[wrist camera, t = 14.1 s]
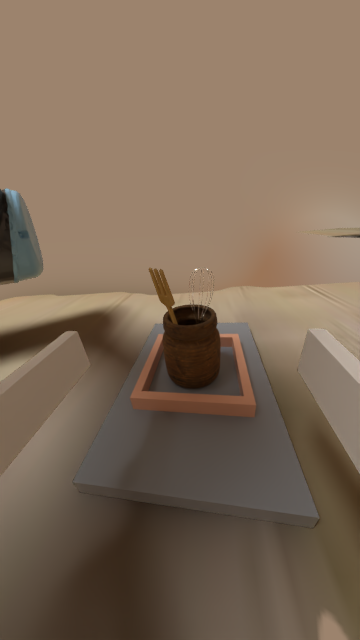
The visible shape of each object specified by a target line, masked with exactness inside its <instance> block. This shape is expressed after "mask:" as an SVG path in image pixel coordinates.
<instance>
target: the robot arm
mask: <svg viewBox="0 0 360 640" xmlns="http://www.w3.org/2000/svg"><path fill="white" fill-rule="evenodd" d="M42 271H43V260H42V255H41V251H40V247H39V243H38V239H37V236H36V232H35V229H34V226H33V223H32V220H31V217H30V214H29V211H28V209H27V206H26V204H25V202H24V200H23V198H22V197H21V195H20V194H19V193H18V192H16V191H13V190H9V189H4V190H1V189H0V285H3V284H9V283H18V282H19V281H22V280H27V279H31V278H36V277H38V276H39V275H40V274H41V273H42ZM90 366H91V364H90V362H89V359H88V357H87V354H86V352H85V349H84V347H83V344H82V342H81V339H80V337H79V334H78V332H77V331H66V332H65V333H63V334H62V335H61V336H59V337H58V338H57V339H55V340H54V341H53V342H52V343H50V344H49V345H48V346H46V347H45V348H44V349H43V350H41V351H40V352H39V353H37V354H36V355H35V356H34V357H32V358H31V359H30V360H28V361H27V362H26V363H24V364H23V365H22V366H21V367H19V368H18V369H17V370H15V371H14V372H13V373H12V374H10V375H9V376H8V377H6V378H5V379H4V380H2V381H1V382H0V476H1V475H2V474H3V472H4V471H5V470H6V469H7V467H8V466H9V465H10V464H11V463H12V461H13V460H14V459H15V458H16V456H17V455H18V454H19V453H20V452H21V450H22V449H23V448H24V447H25V445H26V444H27V443H28V442H29V440H30V439H31V438H32V437H33V436H34V434H35V433H36V432H37V431H38V429H39V428H40V427H41V426H42V425H43V423H44V422H45V421H46V420H47V418H48V417H49V416H50V415H51V414H52V412H53V411H54V410H55V409H56V407H57V406H58V405H59V404H60V402H61V401H62V400H63V399H64V398H65V396H66V395H67V394H68V393H69V391H70V390H71V389H72V388H73V387H74V385H75V384H76V383H77V382H78V380H79V379H80V378H81V377H82V376H83V374H84V373H85V372H86V371H87V369H88V368H89V367H90ZM297 370H298V372H299V374H300V375H301V377H302V379H303V380H304V382H305V384H306V385H307V387H308V389H309V390H310V392H311V394H312V395H313V397H314V399H315V400H316V402H317V404H318V405H319V407H320V409H321V410H322V412H323V414H324V415H325V417H326V419H327V420H328V422H329V424H330V425H331V427H332V429H333V430H334V432H335V434H336V435H337V437H338V439H339V440H340V442H341V444H342V445H343V447H344V449H345V450H346V452H347V454H348V455H349V457H350V459H351V460H352V462H353V464H354V465H355V467H356V469H357V470H358V472H359V474H360V361H359V360H358V359H357V358H356V357H355V356H354V355H353V354H352V353H351V352H350V351H348V350H347V349H346V348H345V347H344V346H343V345H342V344H341V343H340V342H339V341H338V340H337V339H335V338H334V337H333V336H332V335H331V334H330V333H329V332H328V331H327V330H326V329H308V331H307V335H306V339H305V343H304V346H303V350H302V354H301V358H300V362H299V366H298V369H297Z"/></svg>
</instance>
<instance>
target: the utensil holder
mask: <svg viewBox="0 0 360 640" xmlns="http://www.w3.org/2000/svg"><path fill="white" fill-rule="evenodd" d="M202 268H203V267H202ZM197 269H198V268H197ZM200 269H201V268H200ZM206 269H207V268H206ZM194 271H195V270H194ZM203 271H204V269H203ZM207 271H209V269H207ZM149 272H150V274H151V277H152V280H153V283H154V286H155V288H156V291H157V294H158V297H159V299H160V301H161V303H163V304H164V305H165V306H166V307H167V309H168V312H166V313H165V315H164V317H163V328H164V330H165V331H164V334H163V351H164V357H165V363H166V368H167V372H168V375H169V377H170V378H171V380H172V381H173V382H174V383H175V384H177V385H179V386H181V387H184V388H190V389H196V388H202V387H205V386H207V385H209V384H211V383H212V382H213V381H214V380H215V379H216V378H217V376H218V374H219V370H220V355H221V342H220V334H219V331H218V329H217V328H216V327H217V317H216V313H215V312H214V310H213V309H211V308H209V307H207V306H209V305H207V306H205V305H204V306H203V305H194V301H193V298H192V301H193V305H183V306H178V307H175V308H173V309H172V306H173V305H174V304H175V302H174V299H173V296H172V294H171V291H170V289H169V286H168V283H167V280H166V278H165V275H164V272H163V270H161V269H160V270H159V272H160V275H161V278H162V280H161V278H160V275H159V273H158V270H157V269H154V272H155V275H156V277H155V275H154V273H153V270H152V268H149ZM201 272H202V270H201ZM192 273H193V272H192ZM194 273H195V272H194ZM196 273H197V272H196ZM211 273H212V272H211ZM203 274H204V273H203ZM210 275H211V274H210ZM190 277H191V276H190ZM203 277H204V276H203ZM156 278H157V280H156ZM211 278H212V277H211ZM192 280H193V279H192ZM194 280H195V279H194ZM203 280H204V279H203ZM157 281H158V282H157ZM162 281H163V283H162ZM211 281H212V280H211ZM203 282H204V281H203ZM158 284H159V285H158ZM163 284H164V286H163ZM189 285H190V284H189ZM211 285H212V284H211ZM213 286H214V285H213ZM164 287H165V288H164ZM193 287H194V286H193ZM165 290H166V291H165ZM199 295H200V292H199ZM202 296H203V291H202ZM207 296H208V293H207ZM212 296H213V293H212ZM210 297H211V294H210ZM211 299H212V298H211ZM189 300H190V297H189ZM206 300H207V298H206ZM209 301H210V299H209ZM210 302H211V301H210ZM190 304H191V302H190ZM201 304H202V301H201ZM205 304H206V302H205ZM208 304H210V303H208Z"/></svg>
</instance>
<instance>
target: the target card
mask: <svg viewBox="0 0 360 640" xmlns="http://www.w3.org/2000/svg"><path fill="white" fill-rule="evenodd" d="M216 328H217V329H218V331H219V334H220V342H221V355H220V370H219V374H218V376H217V378H216V379H215V380H214V381H213V382H212V383H211V384H209V385H207V386H205V387H202V388H196V389H190V388H184V387H181V386H179V385H177V384H175V383H174V382H173V381H172V380H171V378H170V377H169V375H168V372H167V368H166V363H165V357H164V351H163V334H164V331H165V330H164V328H163V324H155V326H154V327H153V329H152V331H151V333H150V335H149V337H148V339H147V341H146V343H145V345H144V346H143V348H142V350H141V352H140V354H139V356H138V358H137V360H136V362H135V364H134V365H133V367H132V369H131V371H130V373H129V375H128V377H127V379H126V381H125V383H124V384H123V386H122V388H121V390H120V392H119V394H118V396H117V398H116V400H115V402H114V403H113V405H112V407H111V409H110V411H109V413H108V415H107V417H106V419H105V421H104V422H103V424H102V426H101V428H100V430H99V432H98V434H97V436H96V438H95V440H94V441H93V443H92V445H91V447H90V449H89V451H88V453H87V455H86V457H85V459H84V460H83V462H82V464H81V466H80V468H79V470H78V472H77V474H76V476H75V478H74V479H73V481H72V483H73V484H74V485H75V487H76V488H77V489H78V491H79V492H81V493H87V494H94V495H100V496H107V497H113V498H120V499H126V500H133V501H139V502H146V503H152V504H159V505H165V506H172V507H178V508H185V509H191V510H198V511H204V512H211V513H217V514H224V515H230V516H237V517H243V518H250V519H256V520H263V521H269V522H276V523H282V524H289V525H295V526H302V527H308V528H314V526H315V524H316V523H317V521H318V520H319V515H318V512H317V509H316V507H315V504H314V501H313V499H312V496H311V493H310V491H309V488H308V485H307V482H306V480H305V477H304V474H303V472H302V469H301V466H300V464H299V461H298V458H297V455H296V453H295V450H294V447H293V445H292V442H291V439H290V437H289V434H288V431H287V429H286V426H285V423H284V420H283V418H282V415H281V412H280V410H279V407H278V404H277V402H276V399H275V396H274V393H273V391H272V388H271V385H270V383H269V380H268V377H267V375H266V372H265V369H264V366H263V364H262V361H261V358H260V356H259V353H258V350H257V348H256V345H255V342H254V339H253V337H252V334H251V331H250V329H249V326H248V323H217V327H216Z"/></svg>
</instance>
